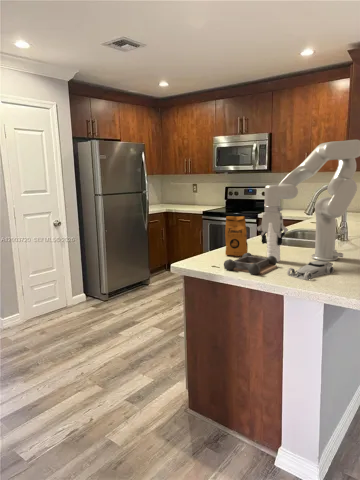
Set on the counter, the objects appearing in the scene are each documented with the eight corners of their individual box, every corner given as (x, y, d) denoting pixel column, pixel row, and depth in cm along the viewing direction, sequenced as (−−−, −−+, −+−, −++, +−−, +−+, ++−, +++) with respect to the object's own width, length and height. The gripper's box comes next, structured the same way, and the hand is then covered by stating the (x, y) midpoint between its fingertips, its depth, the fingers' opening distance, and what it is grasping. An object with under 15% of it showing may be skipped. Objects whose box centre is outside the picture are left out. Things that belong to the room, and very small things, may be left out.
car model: (285, 276, 155) (285, 265, 154) (318, 266, 169) (319, 256, 168) (306, 281, 146) (306, 270, 145) (340, 271, 160) (340, 260, 159)
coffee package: (245, 257, 190) (245, 217, 186) (223, 256, 195) (222, 216, 191) (249, 254, 198) (249, 215, 194) (228, 252, 204) (228, 214, 200)
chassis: (278, 266, 169) (279, 256, 169) (259, 276, 155) (260, 265, 154) (242, 261, 182) (242, 251, 181) (222, 269, 168) (221, 259, 167)
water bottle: (279, 259, 183) (279, 211, 179) (280, 262, 177) (280, 212, 173) (262, 259, 185) (261, 212, 181) (263, 262, 179) (262, 213, 175)
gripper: (292, 209, 173) (291, 244, 177) (260, 208, 185) (259, 241, 188) (285, 211, 168) (284, 247, 171) (252, 209, 179) (252, 243, 182)
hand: (271, 244), depth 179 cm, fingers open, 7 cm apart
